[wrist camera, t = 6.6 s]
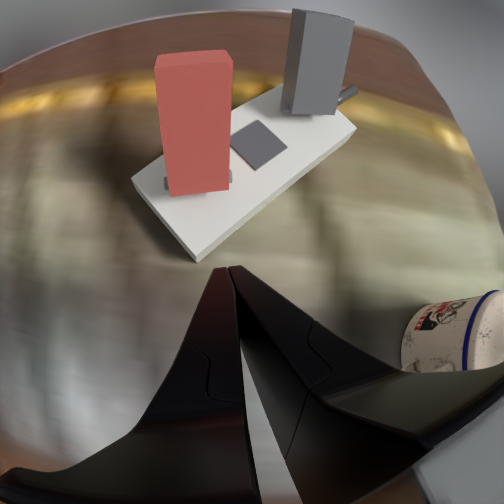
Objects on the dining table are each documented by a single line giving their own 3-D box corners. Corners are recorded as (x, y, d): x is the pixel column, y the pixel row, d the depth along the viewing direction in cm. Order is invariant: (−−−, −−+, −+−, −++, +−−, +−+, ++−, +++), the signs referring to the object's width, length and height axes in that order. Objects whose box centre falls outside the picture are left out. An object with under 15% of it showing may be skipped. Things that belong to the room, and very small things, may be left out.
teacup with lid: (451, 291, 26) (539, 270, 14) (462, 370, 24) (547, 373, 13) (362, 326, 23) (464, 321, 12) (378, 419, 22) (469, 457, 10)
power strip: (196, 263, 23) (195, 255, 20) (137, 191, 23) (130, 176, 21) (374, 119, 29) (385, 106, 27) (324, 75, 30) (332, 60, 27)
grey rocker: (337, 120, 23) (359, 22, 16) (286, 119, 23) (301, 11, 15) (324, 106, 25) (341, 16, 18) (276, 104, 24) (287, 7, 17)
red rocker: (234, 194, 20) (240, 61, 13) (165, 203, 19) (146, 69, 12) (228, 169, 22) (231, 49, 15) (165, 176, 21) (151, 56, 14)
